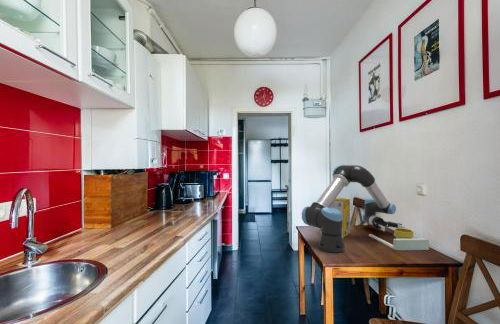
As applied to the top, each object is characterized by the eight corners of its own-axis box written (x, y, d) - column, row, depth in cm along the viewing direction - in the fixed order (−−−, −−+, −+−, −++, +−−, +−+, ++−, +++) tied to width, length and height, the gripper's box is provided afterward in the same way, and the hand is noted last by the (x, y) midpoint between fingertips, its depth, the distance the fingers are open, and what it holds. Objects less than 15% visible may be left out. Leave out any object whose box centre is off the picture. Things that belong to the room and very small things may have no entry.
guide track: (368, 235, 188) (368, 227, 188) (396, 235, 189) (396, 226, 189) (396, 250, 156) (396, 240, 156) (428, 249, 158) (429, 239, 158)
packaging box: (349, 233, 194) (350, 199, 194) (343, 238, 181) (343, 201, 181) (327, 230, 203) (328, 197, 203) (319, 234, 190) (320, 199, 190)
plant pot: (417, 247, 163) (417, 231, 163) (404, 249, 159) (404, 232, 159) (402, 242, 172) (402, 227, 172) (390, 244, 169) (390, 228, 169)
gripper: (393, 226, 197) (412, 234, 176) (360, 227, 195) (375, 234, 174) (393, 216, 197) (412, 222, 176) (360, 216, 195) (375, 223, 174)
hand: (394, 228), depth 175 cm, fingers open, 13 cm apart
